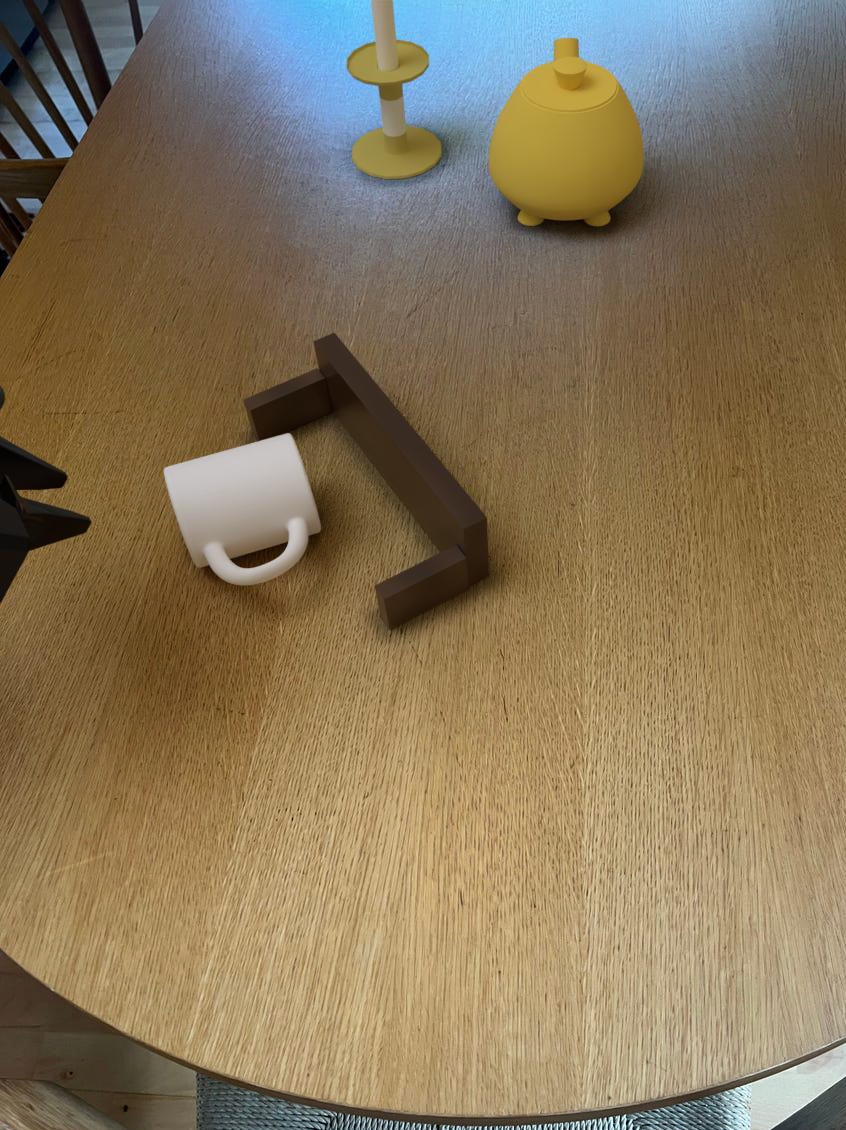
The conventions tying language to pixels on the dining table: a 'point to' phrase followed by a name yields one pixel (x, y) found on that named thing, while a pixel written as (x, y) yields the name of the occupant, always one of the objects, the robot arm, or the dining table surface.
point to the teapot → (566, 142)
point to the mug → (244, 507)
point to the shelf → (387, 474)
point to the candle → (392, 102)
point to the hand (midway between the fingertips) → (76, 502)
